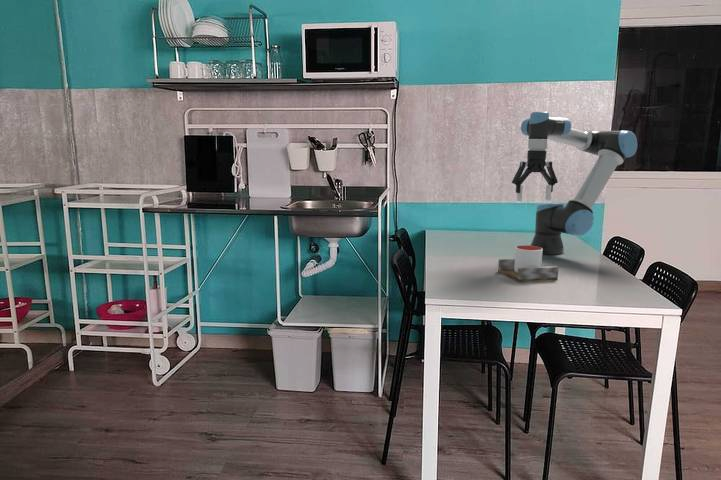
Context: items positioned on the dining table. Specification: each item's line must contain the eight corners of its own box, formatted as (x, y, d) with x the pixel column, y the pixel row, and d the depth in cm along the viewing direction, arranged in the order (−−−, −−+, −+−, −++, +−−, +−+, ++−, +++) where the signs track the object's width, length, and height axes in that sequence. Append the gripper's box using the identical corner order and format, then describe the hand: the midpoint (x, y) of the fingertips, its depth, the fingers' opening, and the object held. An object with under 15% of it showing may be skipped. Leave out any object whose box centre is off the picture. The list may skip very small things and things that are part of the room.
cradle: (533, 269, 218) (534, 257, 217) (557, 279, 202) (558, 267, 201) (497, 271, 214) (498, 259, 213) (519, 282, 199) (520, 268, 198)
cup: (540, 271, 211) (542, 246, 209) (540, 277, 202) (542, 251, 200) (514, 269, 214) (516, 244, 213) (513, 274, 205) (514, 249, 203)
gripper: (558, 149, 230) (554, 198, 234) (505, 149, 224) (502, 200, 228) (568, 150, 223) (564, 200, 227) (514, 150, 217) (511, 202, 221)
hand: (533, 200), depth 228 cm, fingers open, 13 cm apart
